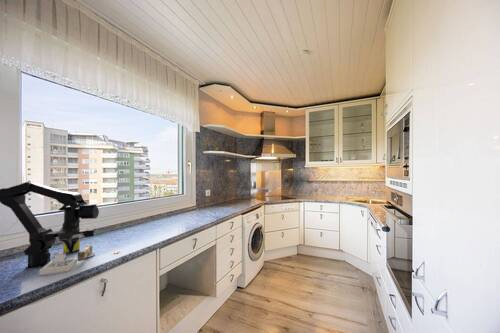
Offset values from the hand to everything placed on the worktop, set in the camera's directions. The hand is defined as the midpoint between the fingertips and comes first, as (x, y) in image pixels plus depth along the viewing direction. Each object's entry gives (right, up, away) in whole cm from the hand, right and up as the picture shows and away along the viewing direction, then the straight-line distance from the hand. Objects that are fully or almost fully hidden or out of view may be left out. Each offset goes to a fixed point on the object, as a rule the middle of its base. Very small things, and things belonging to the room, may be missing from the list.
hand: (71, 252), depth 101 cm
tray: (+1, -5, -7) cm, 8 cm away
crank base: (+7, -5, +10) cm, 13 cm away
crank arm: (+4, -4, +3) cm, 6 cm away
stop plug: (+1, -4, -7) cm, 8 cm away
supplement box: (-12, -6, +15) cm, 20 cm away
